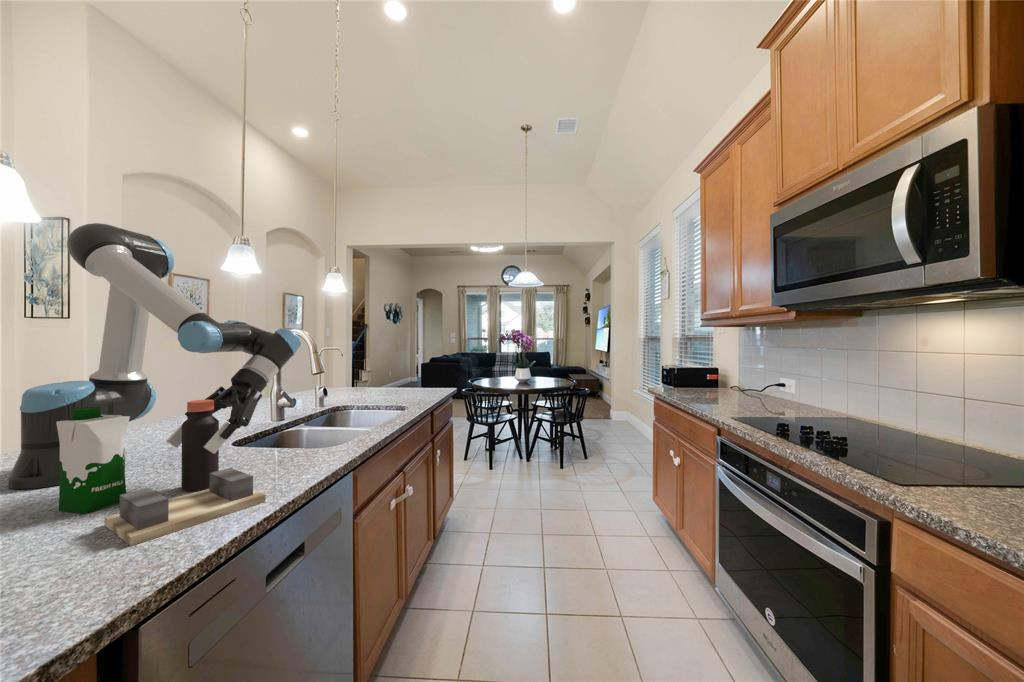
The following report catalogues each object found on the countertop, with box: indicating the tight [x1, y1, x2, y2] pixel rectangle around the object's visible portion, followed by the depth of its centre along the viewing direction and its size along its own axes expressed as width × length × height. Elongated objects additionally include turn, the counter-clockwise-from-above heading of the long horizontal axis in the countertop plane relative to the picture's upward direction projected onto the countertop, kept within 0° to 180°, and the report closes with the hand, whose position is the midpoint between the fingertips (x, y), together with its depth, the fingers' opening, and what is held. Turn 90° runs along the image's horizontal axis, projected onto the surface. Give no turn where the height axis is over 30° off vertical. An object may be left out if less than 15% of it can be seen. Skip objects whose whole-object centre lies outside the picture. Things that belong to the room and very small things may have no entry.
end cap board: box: [104, 467, 267, 547], centre depth 77 cm, size 14×21×6 cm, turn 149°
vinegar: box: [181, 399, 220, 492], centre depth 90 cm, size 7×7×20 cm
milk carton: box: [56, 407, 130, 515], centre depth 80 cm, size 9×9×20 cm
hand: (189, 447), depth 88 cm, fingers open, 13 cm apart
